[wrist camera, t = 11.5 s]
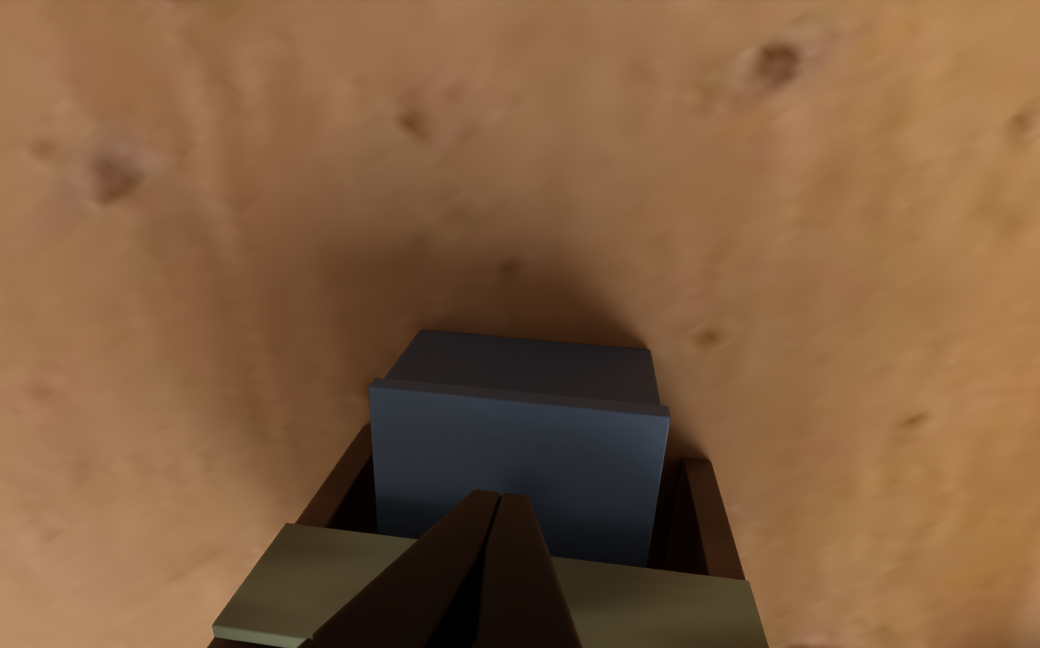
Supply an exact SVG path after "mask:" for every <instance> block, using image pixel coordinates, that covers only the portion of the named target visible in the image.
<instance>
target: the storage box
mask: <svg viewBox="0 0 1040 648" xmlns="http://www.w3.org/2000/svg"><path fill="white" fill-rule="evenodd" d="M368 391H369V406H370V421H371V435H372V450H373V465H374V479H375V494H376V509H377V523H378V535H386V536H394V537H402V538H410V539H419V538H420V537H421V536H422V535H423V534H425V533H426V532H427V531H428V530H429V529H430V528H431V527H432V526H434V525H435V524H436V523H437V522H438V521H439V520H440V519H441V518H443V517H444V516H445V515H446V514H447V513H448V512H449V511H450V510H451V509H453V508H454V507H455V506H456V505H457V504H458V503H459V502H460V501H462V500H463V499H464V498H465V497H466V496H467V495H468V494H469V493H470V492H472V491H473V490H475V489H481V490H489V491H497V492H499V493H500V495H501V496H502V494H504V493H514V494H523V495H527V496H529V498H530V499H531V502H532V505H533V508H534V511H535V513H536V516H537V519H538V522H539V525H540V528H541V530H542V533H543V536H544V539H545V542H546V545H547V548H548V550H549V553H550V556H554V557H562V558H570V559H578V560H586V561H594V562H602V563H610V564H618V565H626V566H634V567H642V568H646V567H647V561H648V555H649V549H650V542H651V536H652V530H653V524H654V518H655V511H656V505H657V499H658V493H659V487H660V480H661V474H662V468H663V462H664V456H665V449H666V443H667V437H668V431H669V425H670V418H671V417H670V413H669V408H668V407H667V406H661V404H660V398H659V393H658V388H657V382H656V377H655V372H654V366H653V361H652V356H651V351H650V350H644V349H633V348H622V347H610V346H599V345H588V344H577V343H565V342H554V341H543V340H532V339H520V338H509V337H498V336H487V335H476V334H464V333H453V332H442V331H431V330H420V331H419V332H418V334H417V335H416V336H415V338H414V339H413V340H412V342H411V343H410V344H409V346H408V347H407V348H406V350H405V351H404V352H403V354H402V355H401V356H400V358H399V359H398V360H397V362H396V363H395V364H394V366H393V367H392V368H391V370H390V371H389V372H388V374H387V375H386V376H385V378H375V379H374V380H373V381H372V383H371V384H370V385H369V387H368Z"/></svg>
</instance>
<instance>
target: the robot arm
mask: <svg viewBox="0 0 1040 648" xmlns="http://www.w3.org/2000/svg"><path fill="white" fill-rule="evenodd" d="M297 648H583V647H582V644H581V641H580V639H579V636H578V633H577V630H576V627H575V624H574V622H573V619H572V616H571V613H570V610H569V607H568V604H567V602H566V599H565V596H564V593H563V590H562V587H561V585H560V582H559V579H558V576H557V573H556V570H555V567H554V565H553V562H552V559H551V556H550V553H549V550H548V548H547V545H546V542H545V539H544V536H543V533H542V530H541V528H540V525H539V522H538V519H537V516H536V513H535V511H534V508H533V505H532V502H531V499H530V498H529V496H527V495H523V494H514V493H504V494H502V496H501V495H500V493H499V492H497V491H489V490H481V489H475V490H473V491H472V492H470V493H469V494H468V495H467V496H466V497H465V498H464V499H463V500H462V501H460V502H459V503H458V504H457V505H456V506H455V507H454V508H453V509H451V510H450V511H449V512H448V513H447V514H446V515H445V516H444V517H443V518H441V519H440V520H439V521H438V522H437V523H436V524H435V525H434V526H432V527H431V528H430V529H429V530H428V531H427V532H426V533H425V534H423V535H422V536H421V537H420V538H419V539H418V540H417V541H416V542H415V543H413V544H412V545H411V546H410V547H409V548H408V549H407V550H406V551H404V552H403V553H402V554H401V555H400V556H399V557H398V558H397V559H396V560H394V561H393V562H392V563H391V564H390V565H389V566H388V567H387V568H385V569H384V570H383V571H382V572H381V573H380V574H379V575H378V576H376V577H375V578H374V579H373V580H372V581H371V582H370V583H369V584H368V585H366V586H365V587H364V588H363V589H362V590H361V591H360V592H359V593H357V594H356V595H355V596H354V597H353V598H352V599H351V600H350V601H349V602H347V603H346V604H345V605H344V606H343V607H342V608H341V609H340V610H338V611H337V612H336V613H335V614H334V615H333V616H332V617H331V618H330V619H328V620H327V621H326V622H325V623H324V624H323V625H322V626H321V627H319V628H318V629H317V630H316V631H315V632H314V633H313V634H312V639H311V638H307V639H306V640H305V641H303V642H302V643H301V644H300V645H299V646H298V647H297Z"/></svg>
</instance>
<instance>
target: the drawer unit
mask: <svg viewBox="0 0 1040 648" xmlns="http://www.w3.org/2000/svg"><path fill="white" fill-rule="evenodd" d="M295 524H298V525H306V526H314V527H322V528H330V529H338V530H346V531H354V532H362V533H370V534H378V523H377V509H376V494H375V479H374V465H373V450H372V435H371V426H368V425H364V426H363V427H362V429H361V430H360V432H359V433H358V435H357V436H356V437H355V439H354V440H353V442H352V443H351V445H350V446H349V447H348V449H347V450H346V452H345V453H344V454H343V456H342V457H341V459H340V460H339V462H338V463H337V464H336V466H335V467H334V469H333V470H332V472H331V473H330V474H329V476H328V477H327V479H326V480H325V481H324V483H323V484H322V486H321V487H320V489H319V490H318V491H317V493H316V494H315V496H314V497H313V499H312V500H311V501H310V503H309V504H308V506H307V507H306V508H305V510H304V511H303V513H302V514H301V516H300V517H299V518H298V520H297V521H296V523H295ZM664 570H666V571H674V572H682V573H690V574H698V575H706V576H714V577H722V578H730V579H738V580H745V576H744V573H743V569H742V566H741V563H740V559H739V556H738V552H737V549H736V546H735V542H734V539H733V535H732V532H731V528H730V525H729V522H728V518H727V515H726V511H725V508H724V504H723V501H722V498H721V494H720V491H719V487H718V484H717V480H716V477H715V474H714V470H713V467H712V463H711V461H705V460H695V459H686V458H684V459H683V462H682V468H681V474H680V480H679V486H678V492H677V497H676V503H675V509H674V515H673V521H672V526H671V532H670V538H669V544H668V550H667V556H666V561H665V567H664ZM207 648H284V647H278V646H271V645H264V644H258V643H251V642H244V641H238V640H231V639H224V638H217V637H214V639H213V640H212V641H211V643H210V644H209V646H208V647H207Z"/></svg>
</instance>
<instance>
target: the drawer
mask: <svg viewBox="0 0 1040 648" xmlns="http://www.w3.org/2000/svg"><path fill="white" fill-rule="evenodd" d="M417 540H418V539H410V538H402V537H394V536H386V535H378V534H370V533H362V532H354V531H346V530H338V529H330V528H322V527H314V526H306V525H298V524H290V523H286V524H285V525H284V527H283V528H282V529H281V531H280V532H279V533H278V535H277V536H276V538H275V539H274V540H273V542H272V543H271V545H270V546H269V547H268V549H267V550H266V551H265V553H264V554H263V556H262V557H261V558H260V560H259V561H258V562H257V564H256V565H255V567H254V568H253V569H252V571H251V572H250V573H249V575H248V576H247V578H246V579H245V580H244V582H243V583H242V585H241V586H240V587H239V589H238V590H237V591H236V593H235V594H234V596H233V597H232V598H231V600H230V601H229V602H228V604H227V605H226V607H225V608H224V609H223V611H222V612H221V614H220V615H219V616H218V618H217V619H216V620H215V622H214V623H213V625H212V628H213V632H214V636H215V637H217V638H224V639H231V640H238V641H244V642H251V643H258V644H264V645H271V646H278V647H284V648H297V647H298V646H299V645H300V644H301V643H302V642H303V641H305V640H306V639H307V638H311V639H312V634H313V633H314V632H315V631H316V630H317V629H318V628H319V627H321V626H322V625H323V624H324V623H325V622H326V621H327V620H328V619H330V618H331V617H332V616H333V615H334V614H335V613H336V612H337V611H338V610H340V609H341V608H342V607H343V606H344V605H345V604H346V603H347V602H349V601H350V600H351V599H352V598H353V597H354V596H355V595H356V594H357V593H359V592H360V591H361V590H362V589H363V588H364V587H365V586H366V585H368V584H369V583H370V582H371V581H372V580H373V579H374V578H375V577H376V576H378V575H379V574H380V573H381V572H382V571H383V570H384V569H385V568H387V567H388V566H389V565H390V564H391V563H392V562H393V561H394V560H396V559H397V558H398V557H399V556H400V555H401V554H402V553H403V552H404V551H406V550H407V549H408V548H409V547H410V546H411V545H412V544H413V543H415V542H416V541H417ZM551 559H552V562H553V565H554V567H555V570H556V573H557V576H558V579H559V582H560V585H561V587H562V590H563V593H564V596H565V599H566V602H567V604H568V607H569V610H570V613H571V616H572V619H573V622H574V624H575V627H576V630H577V633H578V636H579V639H580V641H581V644H582V647H583V648H769V647H768V644H767V640H766V637H765V634H764V630H763V627H762V623H761V620H760V617H759V613H758V610H757V607H756V603H755V600H754V597H753V593H752V590H751V587H750V583H749V581H746V580H738V579H730V578H722V577H714V576H706V575H698V574H690V573H682V572H674V571H666V570H658V569H650V568H642V567H634V566H626V565H618V564H610V563H602V562H594V561H586V560H578V559H570V558H562V557H554V556H551Z"/></svg>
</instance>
